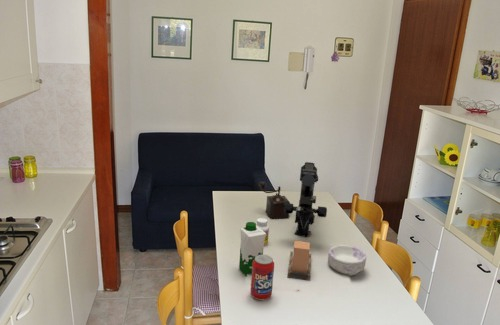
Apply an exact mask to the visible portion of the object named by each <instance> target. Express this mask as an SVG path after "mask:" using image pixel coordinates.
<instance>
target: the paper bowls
mask: <svg viewBox="0 0 500 325" xmlns="http://www.w3.org/2000/svg"><path fill="white" fill-rule="evenodd" d="M366 255H367V254H366V253H365V252H364V251H363V250H361V249H359V247H356V246H352V245H348V244H347V245H345V244H338V245H334V246H332V247H330V248H329V250H328V255H327V263H328V265H329V266H330V267H331V268H333V270H335V271H336V272H339V273H341V274H345V275H349V277H352V276H355V275H357V274H358V273H359V272H360V273H361V272H362V271H363V270H365V267H366V264H367V263H366V261H367V256H366Z"/></svg>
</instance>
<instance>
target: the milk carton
mask: <svg viewBox="0 0 500 325" xmlns="http://www.w3.org/2000/svg"><path fill="white" fill-rule="evenodd" d="M256 224H257V222H253V221H249V222H248V221H247V222H246V223H245V227H242V228H241V227H240V249H239V260H238V261H239V262H238V263H239V265H238V269H239V270H240V272H241V273H243V275H244V276H245V277H248V275H252V263H253V260H254V259H255V257H256V256H257V255H264V247H265V246H264V240H265V237H266V233H265V232H264V231H263V230H262V229H260V228H259V227H258V226H256Z"/></svg>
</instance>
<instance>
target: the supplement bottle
mask: <svg viewBox="0 0 500 325" xmlns="http://www.w3.org/2000/svg"><path fill="white" fill-rule="evenodd" d="M256 226H258V227H259V228H260V229H262V230H263V231H264V232H265V233H266V237H265V240H264V247H266V246H268V244H269V234H270V233H269V232H270V226H269V225H268V219H266V218H264V217H260V218H259V217H258V218H257V219H256Z"/></svg>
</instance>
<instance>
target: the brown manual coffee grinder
mask: <svg viewBox="0 0 500 325" xmlns="http://www.w3.org/2000/svg"><path fill="white" fill-rule="evenodd" d="M258 186H259V187H260V191H262V192H264V193H265V194H272V193H275V194H274V195H267V196H266V205H265V206H266V208H265V214H266V216H267V217H268V218H269V220H284V219H285V220H286V219H287V220H288V219H289V218H290V214H289V213H284V204H285V203H290V204H291V202H290V201H289V199H288V198H287V197H286V195H281V186H277V189H276V190H269V191H266V186H267V182H265V181H260V182H259V183H258Z"/></svg>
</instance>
